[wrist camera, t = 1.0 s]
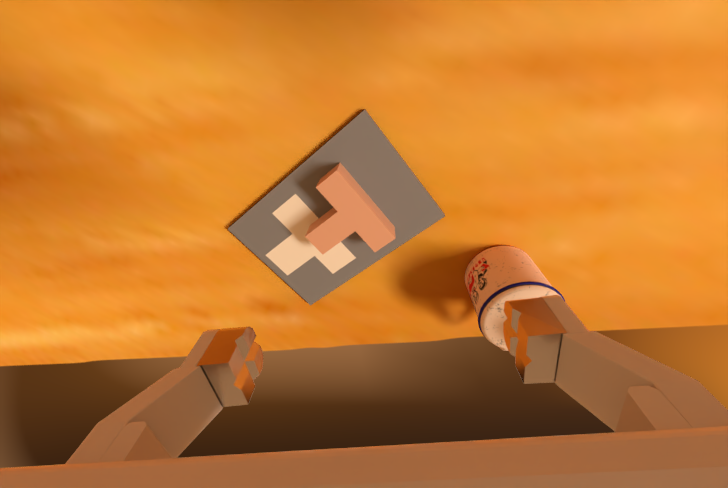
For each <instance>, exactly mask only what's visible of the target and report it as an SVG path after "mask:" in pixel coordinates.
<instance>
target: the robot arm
mask: <svg viewBox="0 0 728 488" xmlns="http://www.w3.org/2000/svg"><path fill="white" fill-rule="evenodd" d="M504 313H505V315H506V317H507V319H506V320H505V321H504V323H503V333H504V339H505V343H506V346H507V348H508V351H509V353H510V354H511V355H513V356H514V357H516V360H515V366H516V368H517V370H518V372H519V375H520V377H521V379H522V381H523V383H524V384H528V383H548V382H549V383H550V382H555V384H556V385H558V386H559V387H560V388H561V389H562V390H564V391H565V392H566V393H567V394H569V395H570V396H571V397H572V398H574V399H575V400H576V401H577V402H579V403H580V404H581V405H582V406H584V407H585V408H586V409H587V410H589V411H590V412H591V413H592V414H594V415H595V416H596V417H598V418H599V419H600V420H601V421H602V422H604V423H605V424H606V425H607V426H609V427H610V428H611V429H612V430H614V431H615V433H598V434H580V435H564V436H546V437H529V438H511V439H493V440H476V441H459V442H442V443H425V444H408V445H392V446H373V447H356V448H338V449H321V450H304V451H287V452H269V453H252V454H235V455H218V456H202V457H201V456H200V457H186V458H185V457H183V458H177V457H178V456H179V455H180V454H181V453H182V452H183V451H184V449H185V448H186V447H187V446H188V445H189V444H190V443H191V442H192V441H193V440H194V439H195V438H196V437H197V436H198V434H199V433H200V432H201V431H202V430H203V429H204V428H205V427H206V426H207V425H208V424H209V423H210V422H211V421H212V419H213V418H214V417H215V416H216V415H217V414H218V413H219V412H220V411H221V410H222V407H227V406H237V405H246V404H249V401H250V399H251V396H252V393H253V391H254V388H255V384H254V382H253V380H254V379H255V378H257V377H258V375H260V373H261V370H262V366H263V353H262V349H261V347H260V345H259V344H257V343H256V342H254V339H255V337H256V335H255V332H254V330H253V328H251V327H238V328H225V329H216V330H207V331H205V332H203V334H202V335H201V337H200V338H199V340H198V341H197V343H196V344H195V346H194V347H193V349H192V350H191V352H190V353H189V355H188V356H187V358H186V359H185V361H184V362H183V364H182V365H181V367H180V368H175V369H174V370H172V371H171V372H169V373H168V374H167V375H165V376H164V377H162V378H161V379H160V380H158V381H157V382H155V383H154V384H152V385H151V386H150V387H148V388H147V389H145V390H144V391H143V392H141V393H140V394H138V395H137V396H135V397H134V398H133V399H131V400H130V401H128V402H127V403H125V404H124V405H123V406H121V407H120V408H118V409H117V410H116V411H114V412H113V413H111V414H110V415H109V416H107V417H106V418H105V419H103V420H102V421H100V422H99V423H97V425H96V426H95V427H94V428H93V430H92V431H91V432H90V433H89V435H88V436H87V437H86V439H85V440H84V441H83V442H82V444H81V445H80V446H79V447H78V449H77V450H76V451H75V452H74V454H73V455H72V456H71V457H70V459H69V460H68V461H67V462H66V464H63V465H46V466H29V467H14V468H13V467H12V468H0V488H728V410H727V409H726V408H725V407H724V406H723V405H721V403H720V402H719V401H718V400H717V399H716V398H715V397H714V396H713V395H711V393H709V391H708V390H706V388H704V387H703V386H702V385H701V384H700V383H699V382H698V381H697V380H695V379H693V378H691V377H689V376H687V375H685V374H683V373H681V372H678V371H676V370H674V369H672V368H670V367H668V366H666V365H664V364H662V363H660V362H658V361H656V360H653V359H651V358H649V357H647V356H645V355H643V354H641V353H639V352H637V351H635V350H633V349H631V348H628V347H627V346H625V345H622V344H620V343H618V342H616V341H614V340H612V339H610V338H608V337H606V336H604V335H602V334H600V333H598V332H596V331H588V329H587V328H586V327H585V326H584V325H583V323H582V322H581V321H580V320H579V318H578V317H577V316H576V315H575V314H574V312H573V311H572V310H571V309H570V307H569V306H568V305H567V304H566V302H565V301H564V300H563V299H562V298H561V296H559V295H551V296H543V297H539V298H529V299H519V300H510V301H505V304H504Z"/></svg>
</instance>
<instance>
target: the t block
mask: <svg viewBox="0 0 728 488" xmlns="http://www.w3.org/2000/svg"><path fill="white" fill-rule="evenodd" d="M316 188H317V189H318V191H319V192H320V193H321V194H322V195H323V196H324V197H325V198H326V199H327V200H328V202H329V203H330V204H331V205H332V206H333V208H332V209H330V210H329V211H328V212H327V213H325V214H324V215H323V216H321V217H320V218H319V219H318V220H316V221H315V222H314V223H312V224H311V225H310V226H309V229H308V231H307V233H306V235H305V237H306V238H307V239H308V240H309V241H310V242H311V243H312V244H313V245H314V246H315V247H316V248H317V249H318V250H319V251H320V252H321V253H322V254H324V253H326V252H327V251H329V250H330V249H331V248H333V247H334V246H335V245H337V244H338V243H340V242H341V241H342V240H344V239H345V238H347V237H348V236H349V235H351V234H352V233H354V232H355V231H356V232H357V234H358V235H359V236H360V237H361V238H362V239H363V240H364V241H365V242H366V243H367V245H368V246H369V247H370V248H371V249H372V250H373V251H374V252H376V251H378V250H379V249H381V248H382V247H384V246H385V245H387V244H388V243H390V242H391V241H393V240H394V239H396V236H395V227H394V225H393V224H392V223H391V222H390V221H389V219H388V218H387V217H386V216H385V215H384V214H383V212H382V211H381V210H380V209H379V208H378V206H377V205H376V204H375V203H374V202H373V201H372V199H371V198H370V197H369V196H368V195H367V193H366V192H365V191H364V190H363V189H362V188H361V186H360V185H359V184H358V183H357V182H356V180H355V179H354V178H353V177H352V176H351V174H350V173H349V172H348V171H347V170H346V169H345V167H344V166H343V165H342V164H341V163H339V164H338V165H336V166H335V167H334V168H333V169H332V170H330V171H329V172H328V173H327V174H326V175H324V176H323V177H322V178H321V179H320V180H319V182H318V184H317V186H316Z"/></svg>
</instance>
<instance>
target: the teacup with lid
mask: <svg viewBox="0 0 728 488" xmlns="http://www.w3.org/2000/svg"><path fill="white" fill-rule="evenodd" d="M465 284H466V287H467V290H468V292H469V295H470V298H471V300H472V303H473V306H474V308H475V311H476V314H477V316H478V324H479V328H480V330H481V332H482V334H483V335H484V336H485V337H486V338H487V339H488V340H489V341H490V342H491V343H493V344H495V345H496V346H498V347H500V348H501V350H505V351H508V348H507V346H506V343H505V339H504V333H503V323H504V321H505V320H506V319H507V317H506V315H505V313H504V304H505V301H510V300H519V299H529V298H539V297H543V296H551V295H559V296H561V298H562V299H563V300H564V298H563V296H562V295H561V294H560V293H559V292H558V291H557V290H556V289H555V288H553V287H552V286H551V284H550V283H549V282H548V280H547V279H546V278H545V277H544V275H543V274H542V273H541V271H540V270H539V269H538V267H537V266H536V265H535V263H534V262H533V261H532V259H531V258H530V257H529V256H528V254H526V253H525V252H524V251H522V250H521V249H519V248H516V247H512V246H496V247H492V248H489V249H486V250H484V251H482V252H481V253H479V254H478V255H476V256H475V257H474V258H473V259H472V260H471V262H470V263H469V265H468V266H467V269H466V272H465ZM564 301H565V300H564Z"/></svg>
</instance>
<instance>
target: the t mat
mask: <svg viewBox="0 0 728 488" xmlns="http://www.w3.org/2000/svg"><path fill="white" fill-rule="evenodd" d="M339 163H341V164H342V165H343V166H344V167H345V169H346V170H347V171H348V172H349V173H350V174H351V176H352V177H353V178H354V179H355V180H356V182H357V183H358V184H359V185H360V186H361V188H362V189H363V190H364V191H365V192H366V193H367V195H368V196H369V197H370V198H371V199H372V201H373V202H374V203H375V204H376V205H377V206H378V208H379V209H380V210H381V211H382V212H383V214H384V215H385V216H386V217H387V218H388V219H389V221H390V222H391V223H392V224H393V225H394V227H395V236H396V239H394V240H393V241H391V242H390V243H388V244H387V245H385V246H384V247H382V248H381V249H379V250H378V251H376V252H374V251H373V250H372V249H371V248H370V247H369V246H368V245H367V243H366V242H365V241H364V240H363V239H362V238H361V237H360V236H359V235H358V234H357V232H356V231H355V232H354V233H352V234H351V235H349V236H348V237H347V238H345V239H344V240H342V241H341V242H340V243H338V244H337V245H335V246H334V247H333V248H331V249H330V250H329V251H327V252H326V253H324V254H322V253H321V252H320V251H319V250H318V249H317V248H316V247H315V246H314V245H313V244H312V243H311V242H310V241H309V240H308V239H307V238H306V237H305V235H306V233H307V231H308V229H309V226H310V225H311V224H312V223H314V222H315V221H316V220H318V219H319V218H320V217H321V216H323V215H324V214H325V213H327V212H328V211H329V210H330V209H332V208H333V206H332V205H331V204H330V203H329V202H328V200H327V199H326V198H325V197H324V196H323V195H322V194H321V193H320V192H319V191H318V189H317V188H316V186H317V184H318V182H319V180H320V179H321V178H322V177H323V176H324V175H326V174H327V173H328V172H329V171H330V170H332V169H333V168H334V167H335V166H336V165H338V164H339ZM444 216H445V215H444V213H443V212H442V210H441V209H440V208H439V206H438V205H437V204H436V202H435V201H434V200H433V198H432V197H431V196H430V194H429V193H428V192H427V191H426V189H425V188H424V187H423V185H422V184H421V183H420V181H419V180H418V179H417V177H416V176H415V175H414V173H413V172H412V171H411V169H410V168H409V167H408V165H407V164H406V163H405V161H404V160H403V159H402V158H401V156H400V155H399V154H398V152H397V151H396V150H395V148H394V147H393V146H392V144H391V143H390V142H389V140H388V139H387V138H386V136H385V135H384V134H383V132H382V131H381V130H380V129H379V127H378V126H377V125H376V123H375V122H374V121H373V119H372V118H371V117H370V115H369V114H368V113H367V111H366V110H365V109H364V110H363V111H362V112H361V113H360V114H359V115H357V116H356V117H355V118H354V119H353V120H352V121H351V122H349V123H348V124H347V125H346V126H345V127H344V128H342V129H341V130H340V131H339V132H338V133H337V134H336V135H334V136H333V137H332V138H331V139H330V140H329V141H328V142H326V143H325V144H324V145H323V146H322V147H321V148H320V149H318V150H317V151H316V152H315V153H314V154H313V155H311V156H310V157H309V158H308V159H307V160H306V161H305V162H303V163H302V164H301V165H300V166H299V167H298V168H297V169H295V170H294V171H293V172H292V173H291V174H290V175H289V176H287V177H286V178H285V179H284V180H283V181H282V182H280V183H279V184H278V185H277V186H276V187H275V188H274V189H272V190H271V191H270V192H269V193H268V194H267V195H266V196H264V197H263V198H262V199H261V200H260V201H259V202H258V203H256V204H255V205H254V206H253V207H252V208H251V209H249V210H248V211H247V212H246V213H245V214H244V215H243V216H241V217H240V218H239V219H238V220H237V221H236V222H235V223H233V224H232V225H231V226H230V227H229V228H228V230H229V231H230V232H231V233H232V234H233V235H234V236H236V237H237V238H238V239H239V240H240V241H241V242H242V243H243V244H244V245H245V246H246V247H248V248H249V249H250V250H251V251H252V252H253V253H254V254H255V255H256V256H257V257H258V258H260V259H261V260H262V261H263V262H264V263H265V264H266V265H267V266H268V267H269V268H270V269H272V270H273V271H274V272H275V273H276V274H277V275H278V276H279V277H280V278H281V279H282V280H284V281H285V282H286V283H287V284H288V285H289V286H290V287H291V288H292V289H293V290H294V291H296V292H297V293H298V294H299V295H300V296H301V297H302V298H303V299H304V300H305V301H306V302H308V303H309V304H310V305H312V304H313V303H315V302H316V301H318V300H319V299H321V298H322V297H324V296H325V295H327V294H328V293H330V292H331V291H333V290H334V289H336V288H337V287H339V286H340V285H342V284H343V283H345V282H346V281H348V280H349V279H351V278H352V277H354V276H355V275H357V274H358V273H360V272H361V271H363V270H364V269H366V268H367V267H369V266H370V265H372V264H373V263H375V262H376V261H378V260H379V259H381V258H383V257H384V256H386V255H387V254H389V253H390V252H392V251H393V250H395V249H396V248H398V247H399V246H401V245H402V244H404V243H405V242H407V241H408V240H410V239H411V238H413V237H414V236H416V235H417V234H419V233H420V232H422V231H423V230H425V229H426V228H428V227H429V226H431V225H432V224H434V223H435V222H437V221H438V220H440V219H441V218H443V217H444Z"/></svg>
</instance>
